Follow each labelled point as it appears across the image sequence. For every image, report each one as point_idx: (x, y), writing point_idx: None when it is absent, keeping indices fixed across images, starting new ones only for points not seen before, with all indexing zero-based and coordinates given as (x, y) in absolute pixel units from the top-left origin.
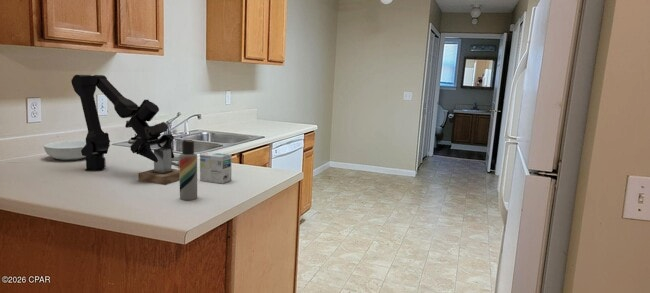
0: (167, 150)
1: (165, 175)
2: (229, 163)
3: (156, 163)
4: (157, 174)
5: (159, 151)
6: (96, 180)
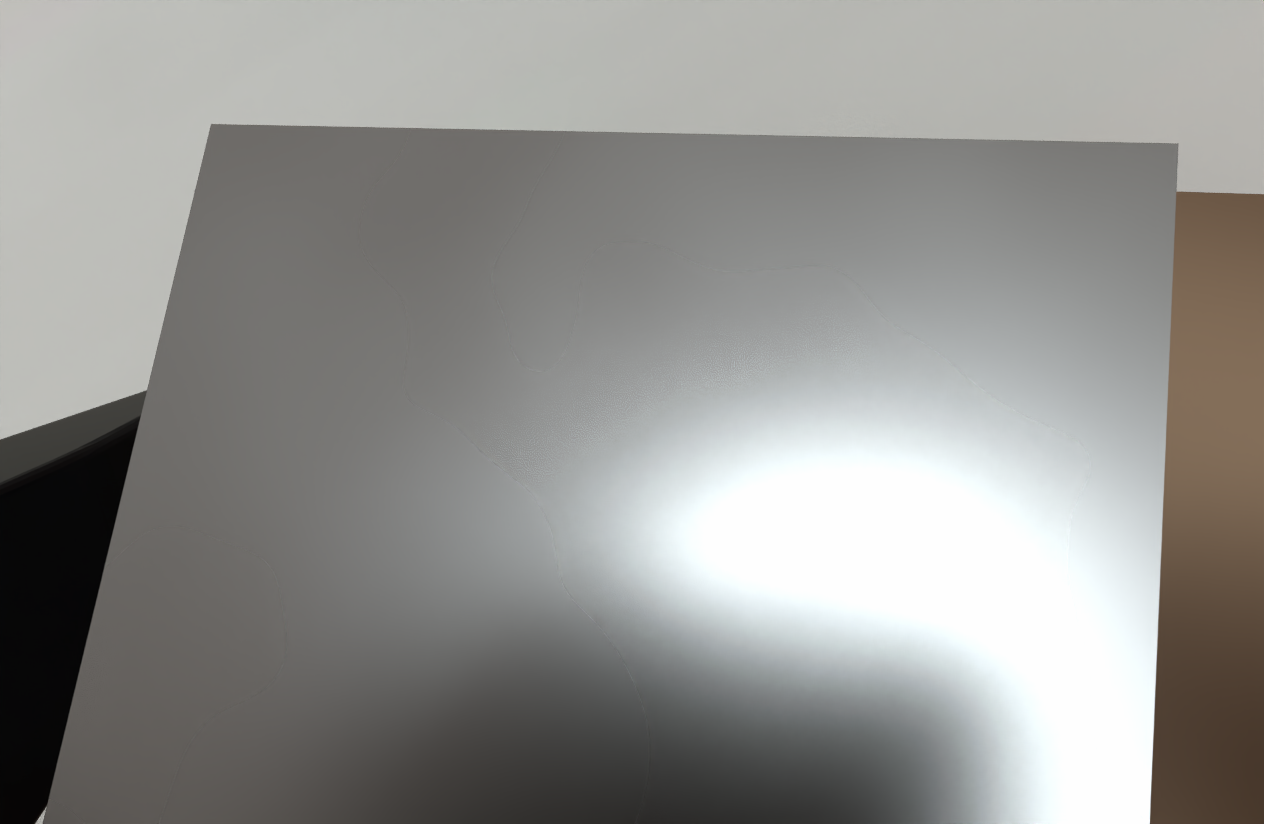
0: (626, 150)
1: (1220, 307)
2: None
3: None
4: (1234, 632)
5: (1145, 582)
6: None
